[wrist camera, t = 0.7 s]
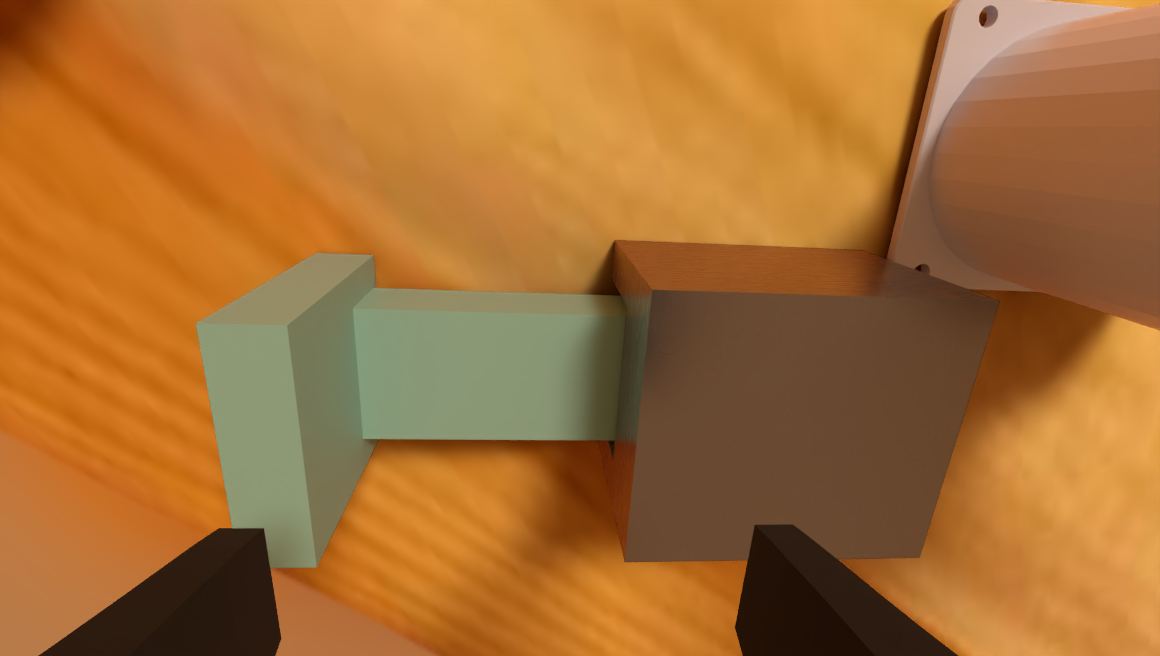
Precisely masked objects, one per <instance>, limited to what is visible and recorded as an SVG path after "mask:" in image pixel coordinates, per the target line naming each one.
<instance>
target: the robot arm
mask: <svg viewBox="0 0 1160 656" xmlns="http://www.w3.org/2000/svg"><path fill="white" fill-rule="evenodd" d="M982 10H985V12H986V14H987V20H986V22H985V24H984V26H983V27H982V26H981V25H980V23H979V15H980V13H981V11H982ZM887 259H888V260H890V261H893V262H896V263H899V264H901V265H904V266H907V267H909V268H912V269H915V268H916V267H917V266H918V265H920V264H921V271H920V272H923V273H926V274H928V275H931V276H934V277H937V278H939V279H942V280H945V281H947V282H950V283H953V284H956V285H958V286H961V287H964V288H966V289H974V290H1003V291H1032V292H1042V293H1045V294H1048V295H1051V296H1055V297H1058V298H1061V299H1064V300H1067V301H1070V302H1073V303H1076V304H1079V305H1083V306H1086V307H1089V308H1092V309H1095V310H1098V311H1101V312H1104V313H1107V314H1111V315H1114V316H1117V317H1120V318H1123V319H1126V320H1129V321H1132V322H1135V323H1139V324H1142V325H1145V326H1148V327H1151V328H1154V329H1157V330H1160V4H1155V5H1150V6H1145V7H1140V8H1126V7H1114V6H1103V5H1092V4H1081V3H1069V2H1058V1H1047V0H955V1H953V2H952V4H951V5H950V6H949V7H948V9H947V11H946V14H945V16H944V20H943V25H942V29H941V33H940V37H939V41H938V46H937V50H936V54H935V58H934V62H933V66H932V71H931V75H930V79H929V83H928V87H927V92H926V96H925V100H924V104H923V108H922V113H921V117H920V121H919V125H918V129H917V134H916V138H915V142H914V146H913V150H912V155H911V159H910V163H909V167H908V171H907V175H906V180H905V184H904V188H903V192H902V196H901V201H900V205H899V209H898V213H897V217H896V222H895V226H894V230H893V234H892V238H891V243H890V247H889V251H888V255H887ZM735 629H736V633H737V636H738V640H739V643H740V647H741V651H742V654H743V656H958V655H956V654H955V653H954V652H953V651H951V650H950V649H949V648H947V647H946V646H945V645H943V644H942V643H941V642H939V641H938V640H937V639H936V638H934V637H933V636H932V635H930V634H929V633H928V632H927V631H925V630H924V629H923V628H922V627H920V626H919V625H918V624H916V623H915V622H914V621H913V620H911V619H910V618H909V617H908V616H906V615H905V614H904V613H903V612H901V611H900V610H899V609H898V608H896V607H895V606H894V605H893V604H891V603H890V602H889V601H888V600H886V599H885V598H884V597H883V596H882V595H880V594H879V593H878V592H877V591H875V590H874V589H873V588H872V587H870V586H869V585H868V584H867V583H866V582H864V581H863V580H862V579H861V578H859V577H858V576H857V575H856V574H855V573H853V572H852V571H851V570H850V569H848V568H847V567H846V566H845V565H844V564H842V563H841V562H840V561H839V560H837V559H836V558H835V557H834V556H833V555H831V554H830V553H829V552H828V551H826V550H825V549H824V548H823V547H821V546H820V545H819V544H818V543H816V542H815V541H814V540H813V539H811V538H810V537H809V536H808V535H806V534H805V533H804V532H802V531H801V530H800V529H798V528H797V527H796V526H794V525H793V524H781V525H755V526H754V531H753V536H752V541H751V547H750V552H749V557H748V562H747V568H746V573H745V578H744V583H743V589H742V594H741V599H740V604H739V609H738V615H737V620H736V625H735ZM280 640H281V634H280V628H279V622H278V615H277V609H276V602H275V596H274V589H273V583H272V576H271V570H270V564H269V557H268V551H267V544H266V538H265V532H264V528H219V529H217V530H216V531H214V532H213V533H211V534H210V535H208V536H207V537H205V538H204V539H202V540H201V541H199V542H198V543H196V544H195V545H193V546H192V547H191V548H189V549H188V550H186V551H185V552H184V553H182V554H181V555H179V556H178V557H177V558H175V559H174V560H173V561H171V562H170V563H168V564H167V565H165V566H164V567H163V568H161V569H160V570H159V571H157V572H156V573H154V574H153V575H151V576H150V577H149V578H147V579H146V580H145V581H143V582H142V583H140V584H139V585H138V586H136V587H135V588H133V589H132V590H131V591H129V592H128V593H127V594H125V595H124V596H122V597H121V598H120V599H118V600H117V601H116V602H114V603H113V604H111V605H110V606H108V607H107V608H105V609H104V610H103V611H101V612H100V613H98V614H97V615H96V616H94V617H93V618H91V619H90V620H89V621H87V622H86V623H84V624H83V625H81V626H80V627H79V628H77V629H76V630H74V631H73V632H72V633H70V634H69V635H67V636H66V637H65V638H63V639H62V640H60V641H59V642H58V643H56V644H55V645H53V646H52V647H51V648H49V649H48V650H46V651H45V652H43V653H42V654H40V655H39V656H275V655H276V651H277V649H278V646H279V643H280Z"/></svg>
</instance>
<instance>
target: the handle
mask: <svg viewBox="0 0 1160 656" xmlns="http://www.w3.org/2000/svg"><path fill="white" fill-rule="evenodd" d="M625 318H626V304H625V303H624V301H623V299H622V297H621V296H618V295H586V294H554V293H522V292H490V291H457V290H425V289H393V288H376V279H375V264H374V255H359V254H332V253H315V254H314V255H312V256H310V257H309V258H307V259H305V260H303V261H302V262H300V263H298V264H297V265H295V266H293V267H291V268H290V269H288V270H286V271H285V272H283V273H281V274H279V275H278V276H276V277H274V278H273V279H271V280H269V281H267V282H266V283H264V284H262V285H261V286H259V287H257V288H255V289H254V290H252V291H250V292H249V293H247V294H245V295H243V296H242V297H240V298H238V299H237V300H235V301H233V302H231V303H230V304H228V305H226V306H225V307H223V308H221V309H219V310H218V311H216V312H214V313H213V314H211V315H209V316H208V317H206V318H204V319H202V320H201V321H199V322H197V323H196V327H197V332H198V338H199V344H200V349H201V355H202V361H203V366H204V372H205V377H206V383H207V389H208V394H209V400H210V406H211V411H212V417H213V422H214V428H215V434H216V439H217V445H218V451H219V456H220V462H221V467H222V473H223V479H224V484H225V490H226V496H227V501H228V507H229V513H230V518H231V524H232V528H264V532H265V538H266V544H267V551H268V557H269V564H270V568H316V567H317V566H318V564H319V561H320V559H321V557H322V555H323V553H324V551H325V549H326V547H327V545H328V543H329V541H330V539H331V537H332V535H333V533H334V531H335V529H336V527H337V524H338V522H339V520H340V518H341V516H342V514H343V512H344V510H345V508H346V506H347V504H348V502H349V500H350V498H351V496H352V494H353V492H354V490H355V487H356V485H357V483H358V481H359V479H360V477H361V475H362V473H363V471H364V469H365V467H366V465H367V463H368V461H369V459H370V457H371V455H372V452H373V450H374V448H375V446H376V444H377V442H378V440H379V439H448V440H612V441H615V433H616V422H617V410H618V399H619V387H620V375H621V364H622V352H623V341H624V329H625Z"/></svg>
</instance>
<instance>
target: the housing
mask: <svg viewBox="0 0 1160 656" xmlns="http://www.w3.org/2000/svg"><path fill="white" fill-rule="evenodd" d="M612 280H613V282H614V284H615V286H616V288H617V290H618V291H619V293H620V295H621V297H622V299H623V301H624V303H625V304H626V318H625V329H624V341H623V352H622V364H621V375H620V387H619V399H618V410H617V422H616V433H615V441H612V440H599V447H600V451H601V456H602V461H603V465H604V470H605V474H606V479H607V484H608V488H609V493H610V497H611V502H612V507H613V511H614V516H615V520H616V525H617V530H618V534H619V539H620V544H621V548H622V553H623V557H624V562H667V561H734V560H748V557H749V552H750V547H751V541H752V536H753V531H754V526H755V525H781V524H793V525H794V526H796V527H797V528H798V529H800V530H801V531H802V532H804V533H805V534H806V535H808V536H809V537H810V538H811V539H813V540H814V541H815V542H816V543H818V544H819V545H820V546H821V547H823V548H824V549H825V550H826V551H828V552H829V553H830V554H831V555H833V556H834V557H835V558H836V559H868V558H919V557H920V554H921V551H922V548H923V545H924V541H925V538H926V535H927V532H928V529H929V526H930V522H931V519H932V516H933V513H934V510H935V506H936V503H937V500H938V497H939V494H940V490H941V487H942V484H943V481H944V478H945V474H946V471H947V468H948V465H949V462H950V459H951V455H952V452H953V449H954V446H955V443H956V439H957V436H958V433H959V430H960V427H961V423H962V420H963V417H964V414H965V411H966V407H967V404H968V401H969V398H970V395H971V392H972V388H973V385H974V382H975V379H976V376H977V372H978V369H979V366H980V363H981V360H982V356H983V353H984V350H985V347H986V344H987V340H988V337H989V334H990V331H991V328H992V325H993V321H994V318H995V315H996V312H997V309H998V305H999V302H1000V301H999V300H996V299H994V298H991V297H988V296H985V295H983V294H980V293H977V292H975V291H972V290H969V289H966V288H964V287H961V286H958V285H956V284H953V283H950V282H947V281H945V280H942V279H939V278H937V277H934V276H931V275H928V274H926V273H923V272H920V271H918V270H915V269H912V268H909V267H907V266H904V265H901V264H899V263H896V262H893V261H890V260H888V259H885V258H882V257H879V256H877V255H874V254H871V253H869V252H866V251H863V250H847V249H822V248H798V247H773V246H748V245H724V244H699V243H675V242H650V241H626V240H615V244H614V257H613V270H612Z"/></svg>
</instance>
